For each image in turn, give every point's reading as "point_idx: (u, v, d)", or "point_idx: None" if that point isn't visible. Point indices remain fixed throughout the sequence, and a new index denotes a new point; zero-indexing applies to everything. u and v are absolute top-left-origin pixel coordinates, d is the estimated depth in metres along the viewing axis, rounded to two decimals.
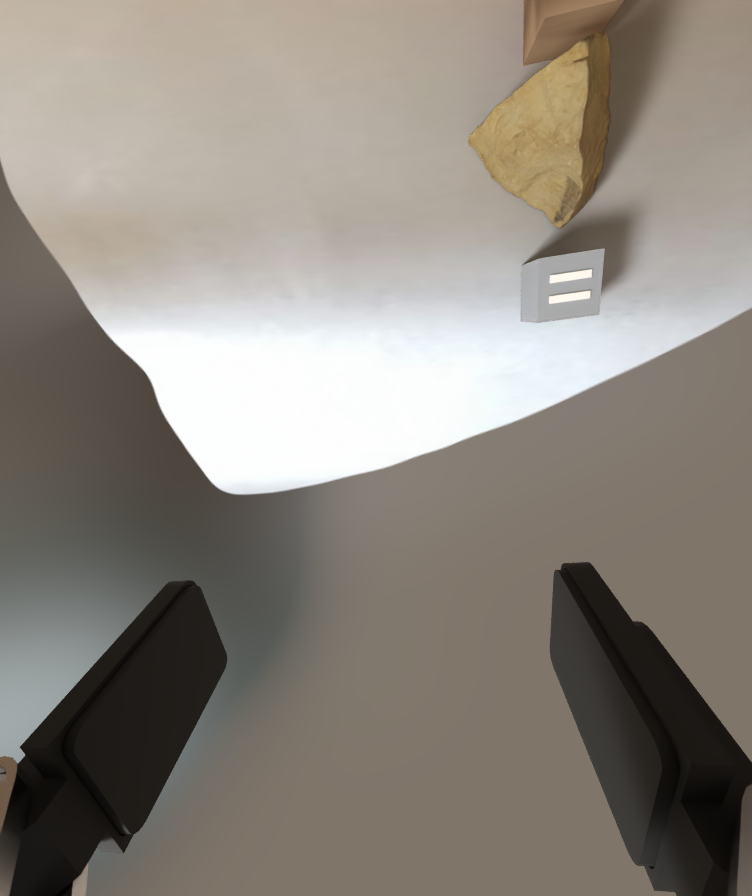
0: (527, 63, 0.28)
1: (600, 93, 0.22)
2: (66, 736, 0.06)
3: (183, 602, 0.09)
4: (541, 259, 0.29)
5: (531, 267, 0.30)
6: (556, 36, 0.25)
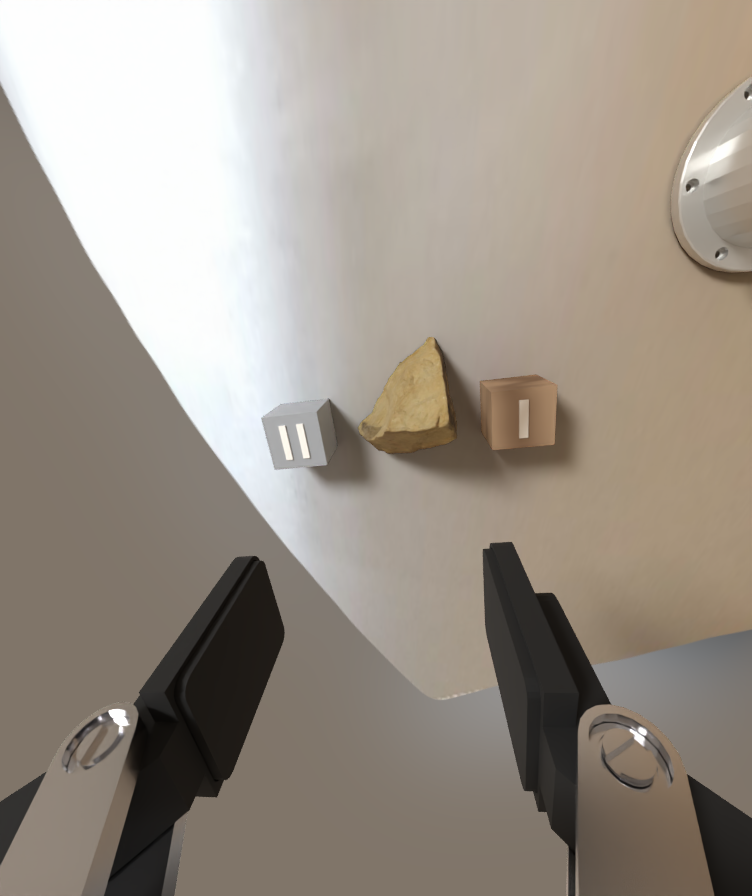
0: (480, 384, 0.32)
1: (421, 442, 0.27)
2: (177, 684, 0.06)
3: (252, 575, 0.09)
4: (315, 414, 0.30)
5: (316, 406, 0.32)
6: (486, 404, 0.31)
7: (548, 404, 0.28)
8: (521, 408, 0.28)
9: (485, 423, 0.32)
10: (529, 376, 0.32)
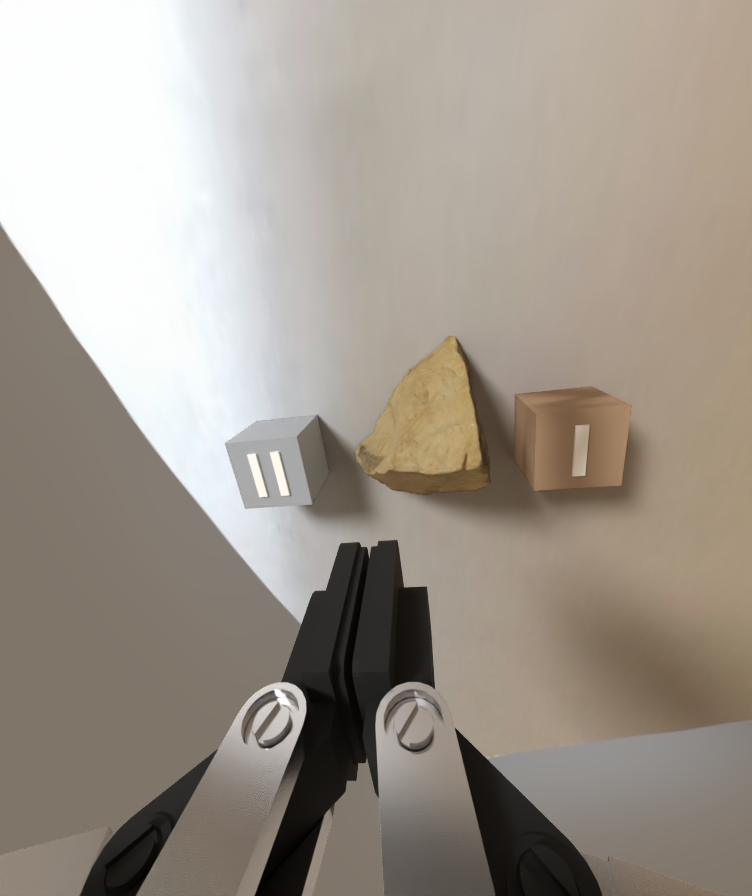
0: (515, 398, 0.25)
1: (439, 485, 0.19)
2: (334, 664, 0.06)
3: None
4: (295, 439, 0.22)
5: (298, 428, 0.24)
6: (524, 427, 0.23)
7: (617, 431, 0.20)
8: (577, 436, 0.20)
9: (522, 451, 0.24)
10: (583, 389, 0.24)
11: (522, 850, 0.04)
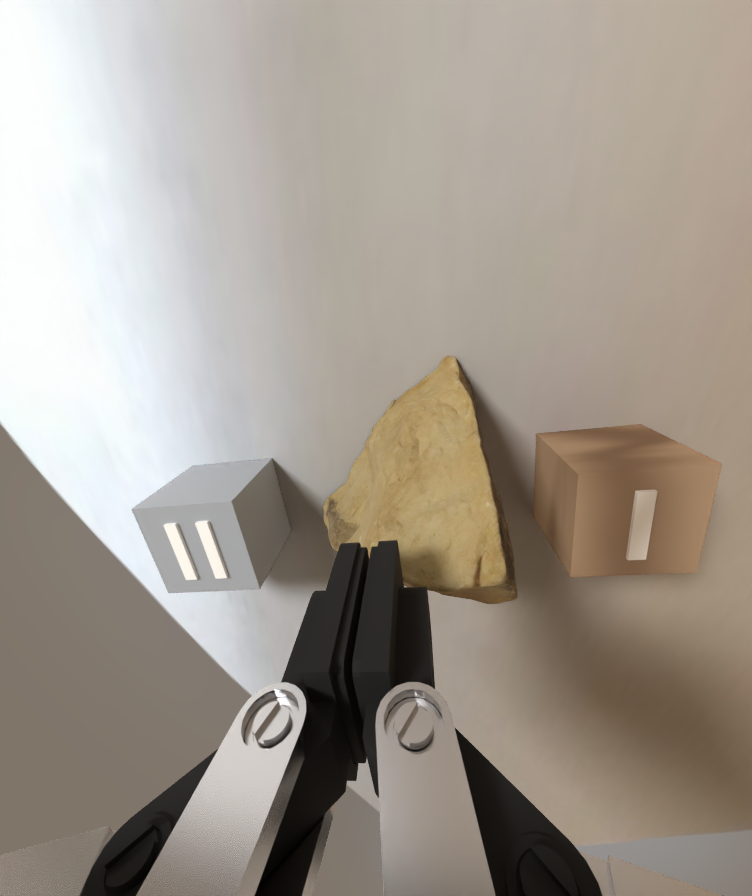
0: (537, 439, 0.18)
1: None
2: (334, 664, 0.06)
3: None
4: (230, 505, 0.16)
5: (239, 483, 0.17)
6: (554, 483, 0.16)
7: (696, 500, 0.14)
8: (638, 506, 0.14)
9: (548, 513, 0.17)
10: (630, 428, 0.17)
11: (522, 850, 0.04)
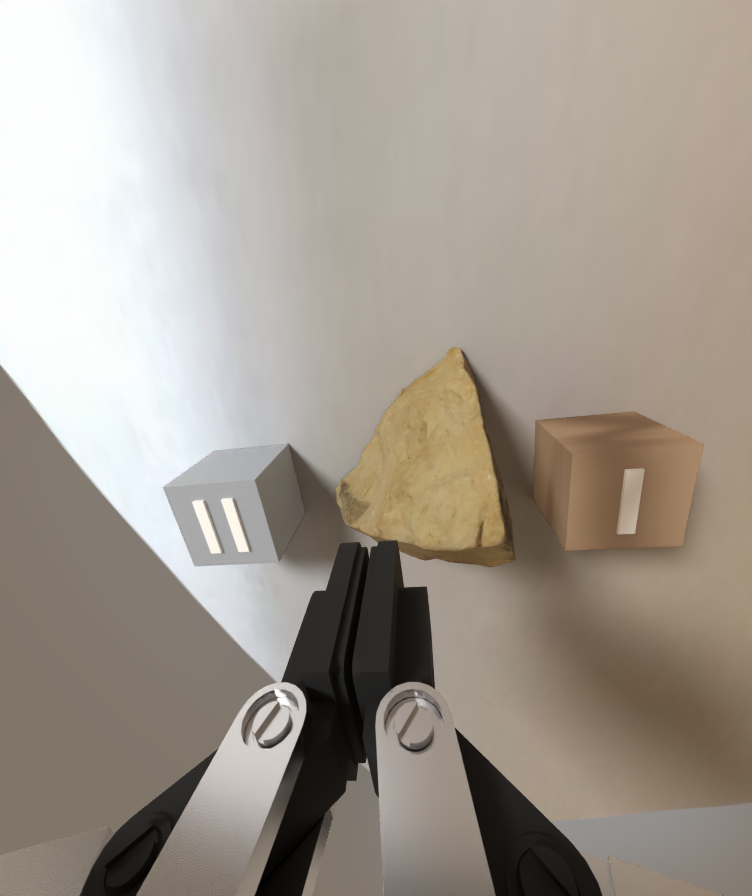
0: (536, 425, 0.19)
1: (442, 555, 0.14)
2: (334, 664, 0.06)
3: None
4: (253, 483, 0.17)
5: (260, 464, 0.19)
6: (551, 465, 0.18)
7: (680, 478, 0.15)
8: (627, 483, 0.15)
9: (546, 494, 0.19)
10: (623, 415, 0.18)
11: (522, 850, 0.04)
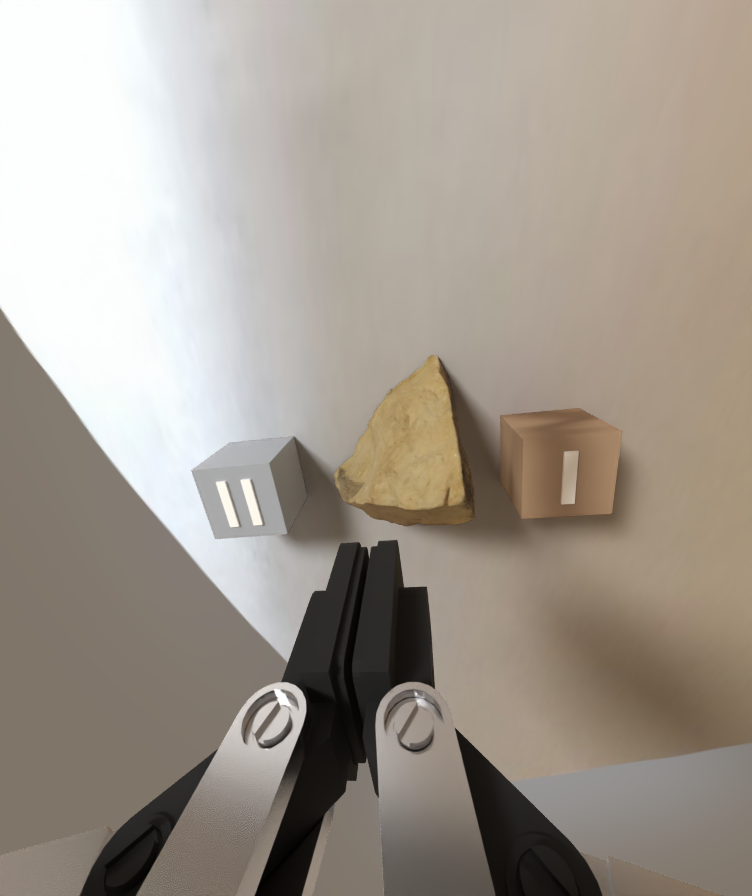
0: (501, 420, 0.23)
1: (421, 518, 0.18)
2: (334, 664, 0.06)
3: None
4: (268, 466, 0.21)
5: (272, 452, 0.23)
6: (511, 451, 0.22)
7: (606, 458, 0.19)
8: (566, 463, 0.19)
9: (508, 475, 0.23)
10: (570, 411, 0.23)
11: (522, 850, 0.04)
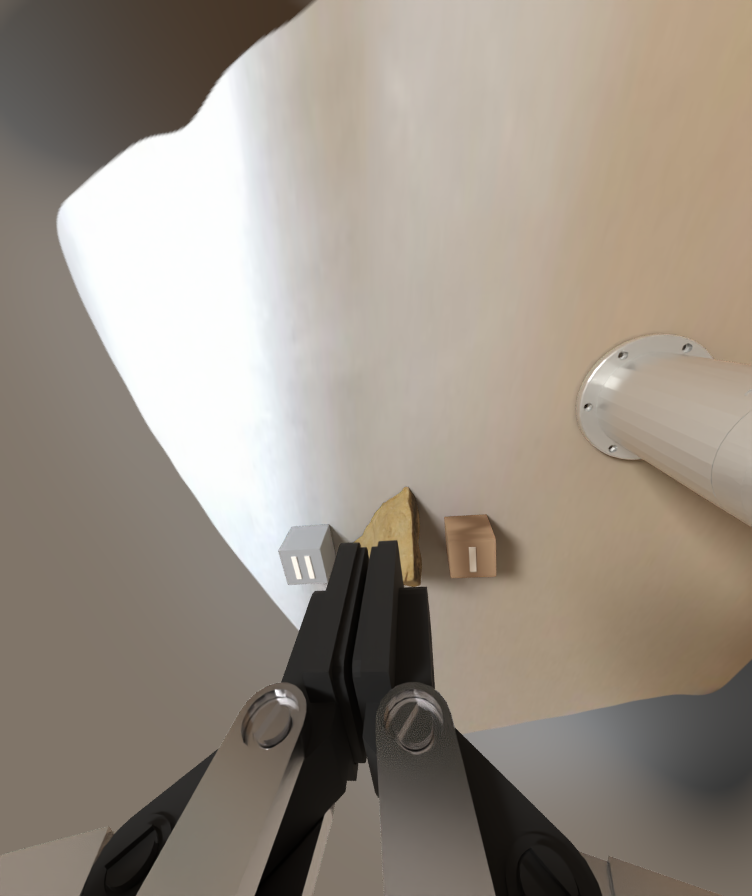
0: (444, 519, 0.43)
1: None
2: (334, 664, 0.06)
3: None
4: (319, 549, 0.40)
5: (319, 539, 0.42)
6: None
7: (490, 550, 0.38)
8: (470, 552, 0.38)
9: (447, 551, 0.42)
10: (481, 516, 0.42)
11: (522, 850, 0.04)
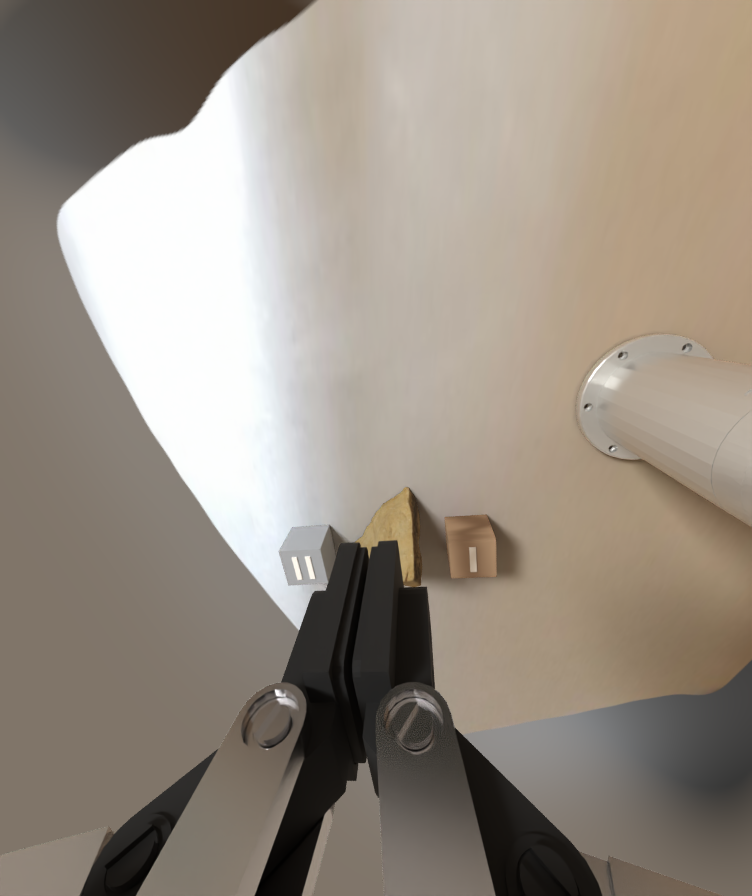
0: None
1: None
2: (334, 664, 0.06)
3: None
4: (319, 550, 0.40)
5: (319, 539, 0.42)
6: (447, 541, 0.41)
7: (490, 550, 0.38)
8: (470, 552, 0.38)
9: None
10: (481, 517, 0.42)
11: (522, 850, 0.04)
